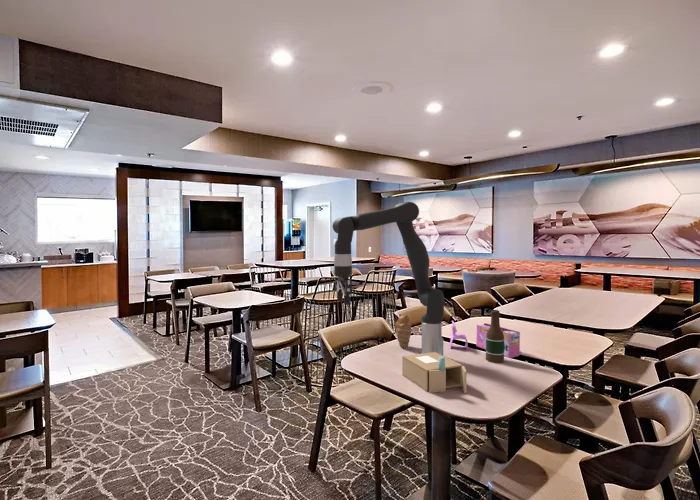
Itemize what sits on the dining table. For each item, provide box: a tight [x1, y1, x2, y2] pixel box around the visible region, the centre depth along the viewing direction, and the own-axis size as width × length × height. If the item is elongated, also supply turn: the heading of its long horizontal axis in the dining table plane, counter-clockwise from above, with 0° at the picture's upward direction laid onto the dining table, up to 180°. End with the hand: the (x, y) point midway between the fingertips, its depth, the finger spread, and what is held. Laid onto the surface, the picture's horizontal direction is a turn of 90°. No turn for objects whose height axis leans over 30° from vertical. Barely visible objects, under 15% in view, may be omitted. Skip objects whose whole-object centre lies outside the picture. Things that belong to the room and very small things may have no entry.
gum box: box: [476, 323, 521, 359], centre depth 185 cm, size 22×7×13 cm, turn 26°
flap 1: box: [428, 357, 447, 393], centre depth 137 cm, size 6×2×12 cm, turn 100°
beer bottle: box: [485, 309, 505, 364], centre depth 170 cm, size 8×8×24 cm
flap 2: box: [461, 365, 467, 394], centre depth 139 cm, size 6×1×8 cm, turn 171°
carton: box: [401, 352, 463, 393], centre depth 148 cm, size 16×18×8 cm
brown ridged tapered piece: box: [395, 313, 412, 349], centre depth 192 cm, size 9×8×18 cm
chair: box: [449, 320, 469, 350], centre depth 190 cm, size 8×9×15 cm
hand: (343, 302), depth 157 cm, fingers open, 8 cm apart
